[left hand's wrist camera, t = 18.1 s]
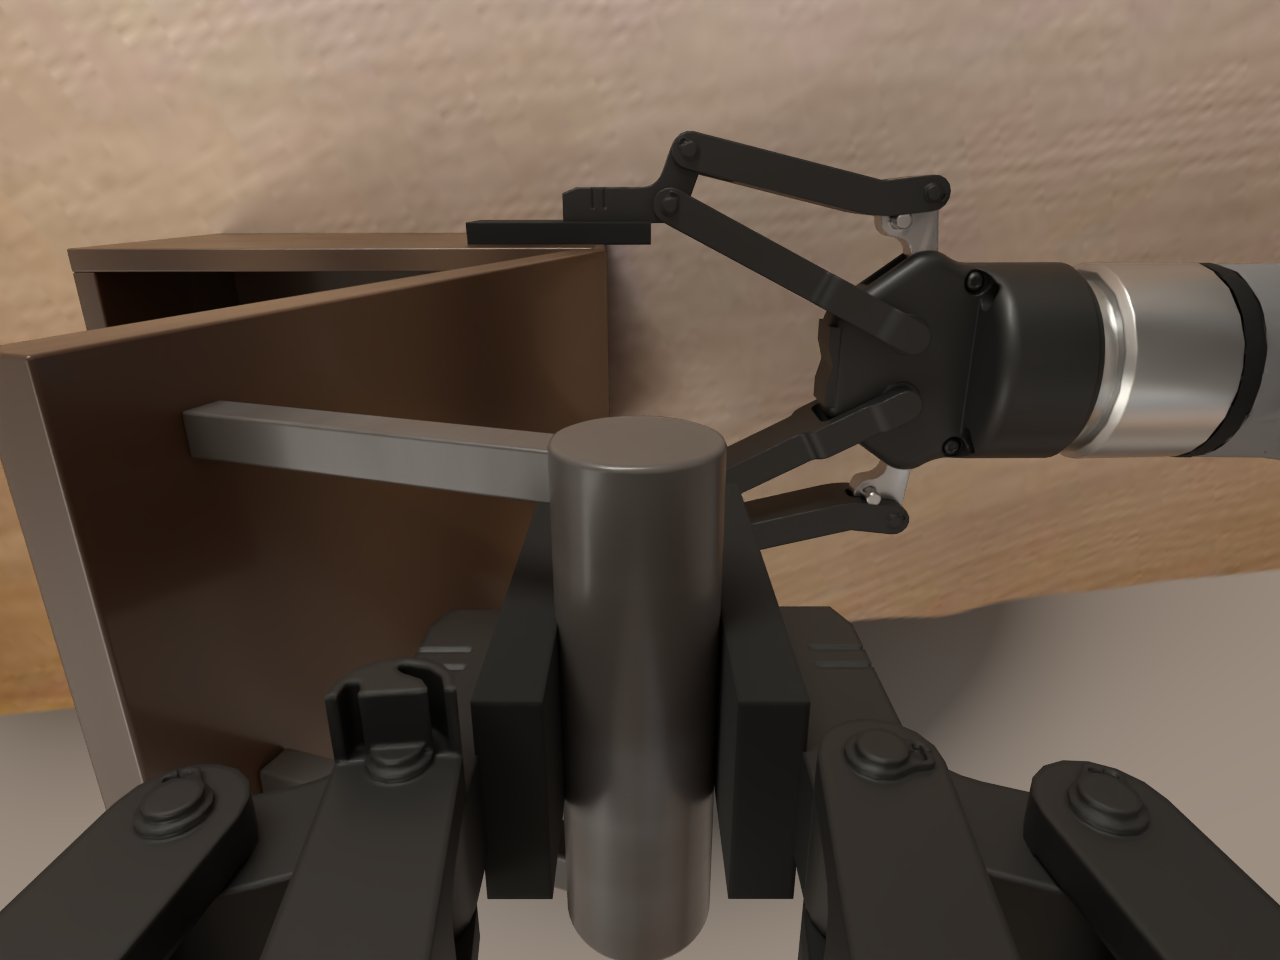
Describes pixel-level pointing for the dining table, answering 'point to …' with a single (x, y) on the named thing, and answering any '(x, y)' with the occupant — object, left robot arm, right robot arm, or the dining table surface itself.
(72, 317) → the dining table surface
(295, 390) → the lid
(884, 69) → the dining table surface
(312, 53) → the dining table surface
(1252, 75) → the dining table surface
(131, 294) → the chest
